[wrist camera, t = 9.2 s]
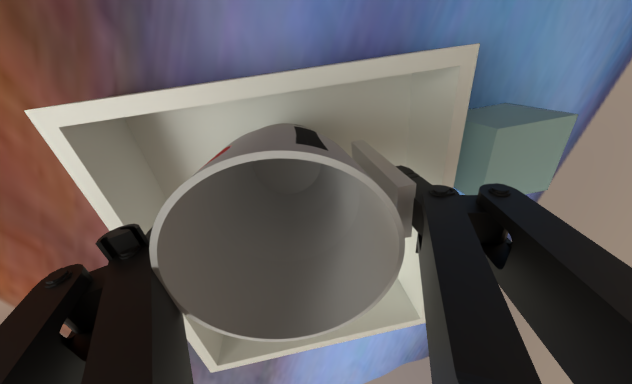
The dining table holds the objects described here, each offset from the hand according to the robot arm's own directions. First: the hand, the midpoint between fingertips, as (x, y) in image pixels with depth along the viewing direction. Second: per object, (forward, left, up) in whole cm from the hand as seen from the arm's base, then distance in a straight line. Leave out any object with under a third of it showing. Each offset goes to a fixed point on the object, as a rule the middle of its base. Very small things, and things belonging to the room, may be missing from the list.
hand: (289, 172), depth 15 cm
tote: (+5, 0, -2) cm, 6 cm away
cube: (+1, +14, -2) cm, 15 cm away
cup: (0, 0, -2) cm, 2 cm away
